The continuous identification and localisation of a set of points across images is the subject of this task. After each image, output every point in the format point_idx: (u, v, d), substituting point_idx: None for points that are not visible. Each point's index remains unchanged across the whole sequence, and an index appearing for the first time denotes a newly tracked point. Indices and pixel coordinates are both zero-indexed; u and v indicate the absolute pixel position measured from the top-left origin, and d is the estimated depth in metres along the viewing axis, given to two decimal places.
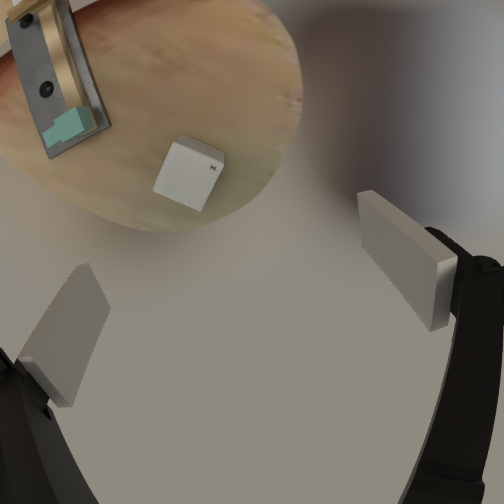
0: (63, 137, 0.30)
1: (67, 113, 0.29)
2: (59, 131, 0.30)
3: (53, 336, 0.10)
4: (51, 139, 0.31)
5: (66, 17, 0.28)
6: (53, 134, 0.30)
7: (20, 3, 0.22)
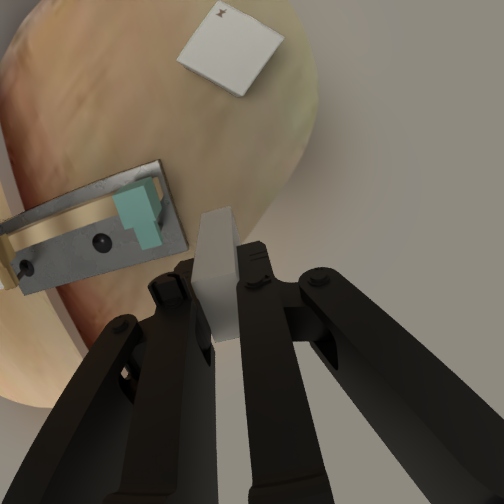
0: (149, 217, 0.27)
1: (119, 208, 0.26)
2: (140, 222, 0.27)
3: None
4: (152, 237, 0.28)
5: (26, 217, 0.30)
6: (145, 233, 0.28)
7: None
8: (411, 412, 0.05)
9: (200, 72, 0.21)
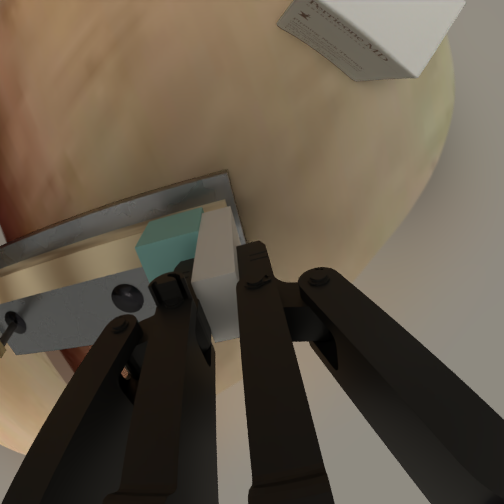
0: None
1: (148, 269, 0.14)
2: None
3: None
4: None
5: (8, 253, 0.19)
6: None
7: None
8: (411, 413, 0.05)
9: (349, 20, 0.10)
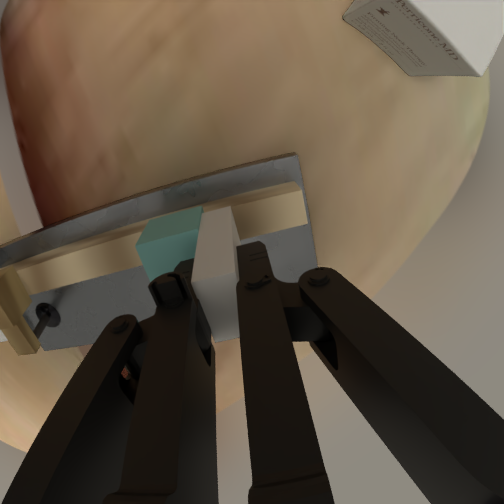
0: None
1: (148, 267, 0.15)
2: None
3: None
4: None
5: (47, 238, 0.19)
6: None
7: (4, 331, 0.17)
8: (411, 413, 0.05)
9: (432, 21, 0.10)
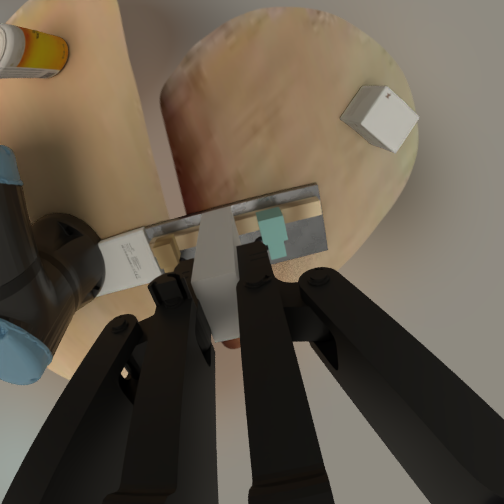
0: (283, 237, 0.39)
1: (262, 230, 0.39)
2: (276, 241, 0.39)
3: None
4: (280, 250, 0.41)
5: (192, 220, 0.43)
6: (276, 248, 0.41)
7: (166, 269, 0.41)
8: (411, 412, 0.05)
9: (374, 134, 0.34)
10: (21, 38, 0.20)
